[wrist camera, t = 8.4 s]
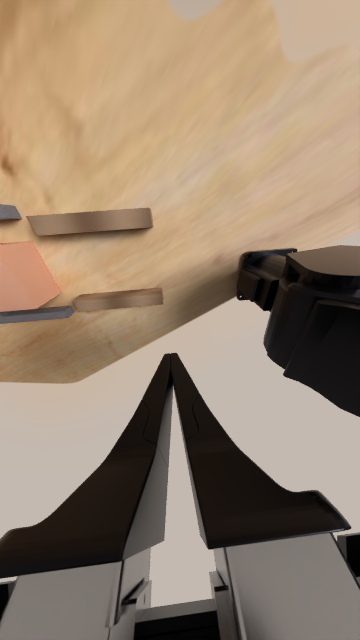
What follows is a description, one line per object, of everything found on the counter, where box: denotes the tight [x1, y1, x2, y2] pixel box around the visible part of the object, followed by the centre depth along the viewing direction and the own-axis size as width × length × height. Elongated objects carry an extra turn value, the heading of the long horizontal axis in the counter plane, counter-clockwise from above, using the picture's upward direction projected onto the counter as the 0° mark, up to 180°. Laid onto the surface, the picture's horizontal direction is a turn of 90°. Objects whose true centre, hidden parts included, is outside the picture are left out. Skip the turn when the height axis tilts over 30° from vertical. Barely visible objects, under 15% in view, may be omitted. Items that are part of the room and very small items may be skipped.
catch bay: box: [0, 204, 74, 324], centre depth 16 cm, size 9×12×2 cm
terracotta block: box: [0, 241, 62, 312], centre depth 15 cm, size 6×6×4 cm
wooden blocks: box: [26, 208, 163, 312], centre depth 16 cm, size 11×10×2 cm
